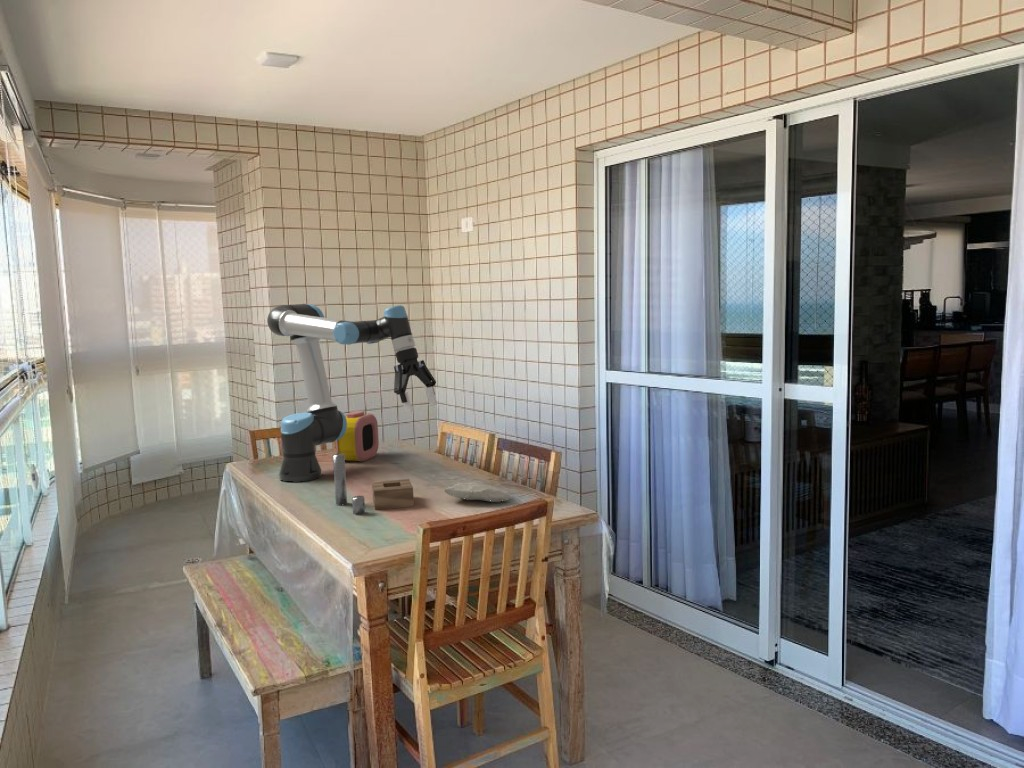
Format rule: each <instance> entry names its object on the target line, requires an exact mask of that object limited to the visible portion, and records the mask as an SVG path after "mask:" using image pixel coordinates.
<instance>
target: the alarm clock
mask: <svg viewBox="0 0 1024 768" xmlns="http://www.w3.org/2000/svg"><path fill="white" fill-rule="evenodd" d="M345 417H346V420H347V429H346V432H345V434H344V436H343V437H342V438H341V439H339V440H337V441H335V450H336V454H344V455H345V460H346V461H350V462H351V461H353V462H354V461H359V462H362V461H363V462H366V461H369V460H370V459H372V458H374V457H375V456H376V455H377V453H378V451H379V441H380V440H379V424H378V420H377V418H376V416H375V415H374V414H373V413H367V414H365V410H355V411H351V412H348V413H347V414H346V415H345Z"/></svg>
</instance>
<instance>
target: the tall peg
mask: <svg viewBox="0 0 1024 768" xmlns="http://www.w3.org/2000/svg"><path fill="white" fill-rule="evenodd" d="M332 462H333V464H332V465H333V477H334V494H335V505H336V504H339V505H338V506H343V505H342V504H346V505H348V495H347V494H348V492H347V475H346V461H345V455H344V454H337V453H335V454H333V455H332Z"/></svg>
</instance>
